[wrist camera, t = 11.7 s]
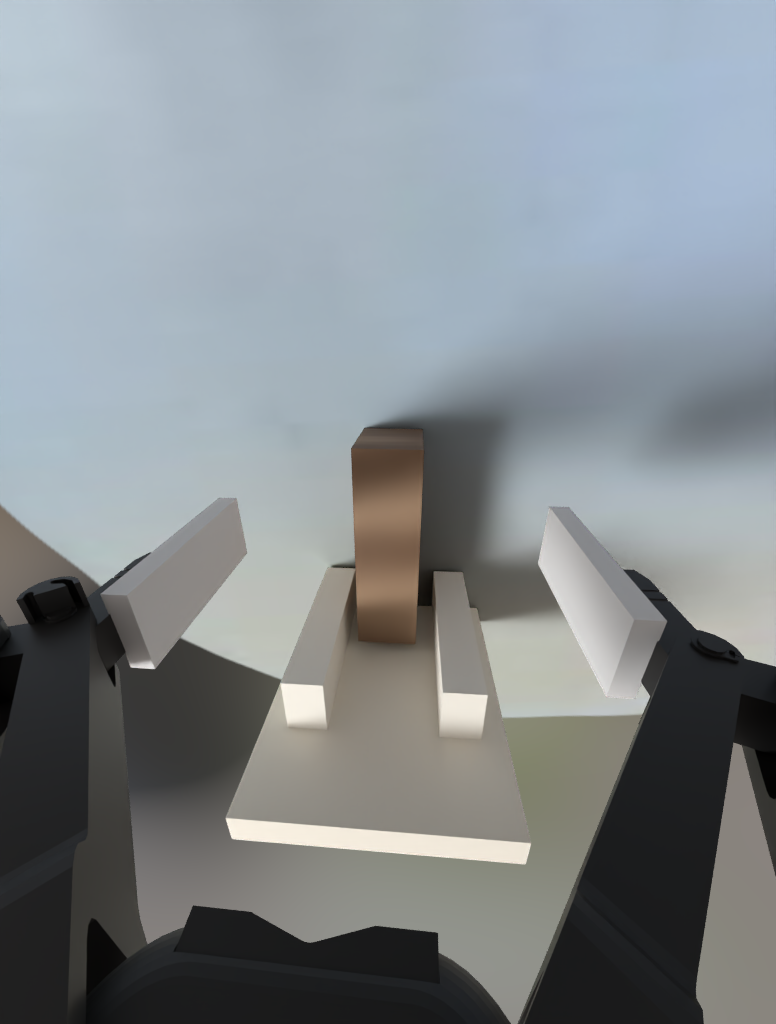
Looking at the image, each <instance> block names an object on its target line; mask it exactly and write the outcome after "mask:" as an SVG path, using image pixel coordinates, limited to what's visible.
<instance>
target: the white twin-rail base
mask: <svg viewBox="0 0 776 1024" xmlns="http://www.w3.org/2000/svg"><path fill="white" fill-rule="evenodd" d="M226 821H227V824H228V827H229V831H230V834H231V837H232V839H238V840H250V841H262V842H273V843H285V844H297V845H308V846H319V847H331V848H342V849H354V850H366V851H378V852H389V853H401V854H412V855H423V856H435V857H447V858H458V859H470V860H481V861H493V862H505V863H516V864H526V860H527V857H528V853H529V850H530V846H531V840H530V836H529V832H528V827H527V823H526V819H525V815H524V810H523V805H522V801H521V797H520V793H519V789H518V784H517V780H516V775H515V771H514V767H513V762H512V758H511V754H510V749H509V745H508V741H507V736H506V732H505V728H504V723H503V719H502V715H501V710H500V706H499V702H498V697H497V693H496V689H495V684H494V680H493V676H492V671H491V667H490V663H489V658H488V654H487V650H486V645H485V641H484V637H483V632H482V628H481V624H480V619H479V615H478V611H477V608H470V606H469V601H468V596H467V591H466V586H465V581H464V577H463V572H440V571H434V574H433V593H432V606H417V622H416V644H400V643H382V642H364V641H358V621H357V594H356V568H327V570H326V573H325V575H324V578H323V580H322V583H321V585H320V587H319V590H318V592H317V595H316V597H315V600H314V602H313V605H312V607H311V610H310V612H309V614H308V617H307V619H306V622H305V624H304V627H303V629H302V632H301V634H300V637H299V639H298V641H297V644H296V646H295V649H294V651H293V654H292V656H291V659H290V661H289V664H288V666H287V668H286V671H285V673H284V676H283V678H282V681H281V683H280V686H279V688H278V691H277V693H276V696H275V698H274V700H273V703H272V705H271V708H270V710H269V713H268V715H267V718H266V720H265V723H264V725H263V727H262V730H261V732H260V735H259V737H258V740H257V742H256V745H255V747H254V750H253V752H252V754H251V757H250V759H249V762H248V764H247V767H246V769H245V772H244V774H243V777H242V779H241V781H240V784H239V786H238V789H237V792H236V794H235V796H234V799H233V801H232V804H231V806H230V808H229V811H228V814H227V816H226Z"/></svg>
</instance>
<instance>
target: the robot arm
mask: <svg viewBox="0 0 776 1024" xmlns="http://www.w3.org/2000/svg"><path fill="white" fill-rule="evenodd" d="M246 554H247V549H246V544H245V539H244V534H243V529H242V524H241V519H240V514H239V509H238V504H237V499H236V498H218V499H217V500H216V501H215V502H214V503H212V504H211V505H210V506H209V507H207V508H206V509H205V510H204V511H202V512H201V513H200V514H199V515H197V516H196V517H195V518H194V519H193V520H191V521H190V522H189V523H188V524H186V525H185V526H184V527H183V528H181V529H180V530H179V531H178V532H176V533H175V534H174V535H173V536H172V537H170V538H169V539H168V540H167V541H165V542H164V543H163V544H162V545H160V546H159V547H158V548H157V549H155V550H154V551H153V552H152V553H151V552H150V553H148V554H146V555H144V556H142V557H140V558H138V559H136V560H134V561H133V562H132V563H131V564H129V565H128V566H127V567H125V568H124V570H123V571H120V572H119V573H118V574H117V575H115V577H114V578H111V579H110V580H109V581H108V582H106V583H105V584H104V585H103V586H101V587H100V588H99V589H98V590H96V591H95V592H94V593H92V594H91V595H90V596H89V597H86V595H85V593H84V591H83V588H82V586H81V584H80V582H79V580H78V579H77V578H75V577H59V578H54V579H50V580H47V581H44V582H41V583H38V584H37V585H34V586H33V587H31V588H28V589H27V590H26V591H25V592H23V593H22V594H20V596H19V597H18V598H17V602H18V604H19V606H20V608H21V610H22V611H23V613H24V615H25V617H26V619H27V621H28V624H22V625H15V626H10V627H7V625H6V623H5V622H4V620H3V618H2V617H1V615H0V1024H511V1023H510V1022H509V1020H508V1019H507V1017H506V1016H505V1015H504V1013H503V1012H502V1010H501V1009H500V1007H499V1006H498V1004H497V1003H496V1002H495V1000H494V999H493V998H492V997H491V996H490V994H489V993H488V992H487V991H486V990H485V989H484V987H483V986H482V985H481V984H480V983H479V982H478V981H477V980H476V979H475V978H474V977H473V976H472V975H471V974H470V973H469V972H467V971H466V970H465V969H464V968H462V967H461V966H459V965H458V964H457V963H455V962H454V961H453V960H451V959H449V958H447V957H445V956H444V955H442V954H440V953H438V933H435V932H426V931H416V930H407V929H399V928H390V927H380V926H374V927H370V928H366V929H362V930H359V931H355V932H351V933H347V934H343V935H340V936H336V937H332V938H328V939H325V940H321V941H317V942H313V943H307V942H304V941H301V940H300V939H298V938H296V937H294V936H293V935H291V934H289V933H287V932H285V931H284V930H282V929H280V928H278V927H276V926H275V925H273V924H271V923H269V922H268V921H266V920H264V919H262V918H260V917H259V916H257V915H255V914H253V913H252V912H246V911H237V910H228V909H219V908H210V907H201V906H193V907H192V910H191V912H190V915H189V917H188V920H187V922H186V925H185V927H184V928H181V929H178V930H175V931H173V932H171V933H168V934H166V935H164V936H161V937H160V938H158V939H156V940H154V941H153V942H151V943H149V944H147V942H146V938H145V934H144V931H143V927H142V924H141V921H140V916H139V910H138V901H137V888H136V876H135V863H134V850H133V838H132V826H131V812H130V800H129V788H128V775H127V762H126V750H125V738H124V724H123V711H122V699H121V686H120V673H119V670H118V668H117V665H116V662H117V661H118V660H119V659H120V658H121V657H122V655H123V654H124V653H125V654H126V656H127V659H128V661H129V664H130V666H131V667H133V668H150V669H155V668H156V667H157V666H158V665H159V663H160V662H161V661H162V659H163V658H164V657H165V656H166V654H167V653H168V651H170V649H171V648H172V647H173V646H174V644H175V643H176V642H177V641H178V639H179V638H180V637H181V636H182V634H183V633H184V632H185V631H186V629H187V628H188V627H189V626H190V624H191V623H192V622H193V621H194V619H195V618H196V617H197V615H198V614H199V613H200V612H201V610H202V609H203V608H204V607H205V605H206V604H207V603H208V602H209V600H210V599H211V598H212V597H213V595H214V594H215V593H216V592H217V590H218V589H219V588H220V587H221V585H222V584H223V583H224V582H225V580H226V579H227V578H228V576H229V575H230V574H231V573H232V571H233V570H234V569H235V568H236V566H237V565H238V564H239V563H240V561H241V560H242V559H243V558H244V556H245V555H246ZM538 565H539V567H540V569H541V571H542V573H543V575H544V577H545V579H546V581H547V582H548V584H549V586H550V588H551V590H552V592H553V594H554V596H555V598H556V600H557V602H558V604H559V606H560V608H561V610H562V612H563V614H564V616H565V618H566V619H567V621H568V623H569V625H570V627H571V629H572V631H573V633H574V635H575V637H576V639H577V641H578V643H579V645H580V647H581V649H582V651H583V653H584V655H585V656H586V658H587V660H588V662H589V664H590V666H591V668H592V670H593V672H594V674H595V676H596V678H597V680H598V682H599V684H600V686H601V688H602V690H603V692H604V693H605V695H606V697H610V698H626V699H636V696H637V694H638V692H639V689H640V687H641V684H643V685H644V687H645V689H646V690H647V692H648V693H649V695H650V699H649V701H648V703H647V706H646V708H645V710H644V713H643V715H642V717H641V720H640V722H639V726H638V728H637V731H636V733H635V735H634V738H633V741H632V743H631V745H630V748H629V751H628V753H627V755H626V758H625V761H624V763H623V765H622V768H621V770H620V773H619V775H618V778H617V780H616V783H615V785H614V788H613V790H612V793H611V795H610V797H609V800H608V802H607V805H606V807H605V810H604V813H603V815H602V817H601V820H600V822H599V825H598V827H597V830H596V832H595V835H594V837H593V840H592V842H591V845H590V847H589V850H588V852H587V855H586V857H585V859H584V862H583V865H582V867H581V869H580V872H579V875H578V877H577V879H576V882H575V885H574V887H573V889H572V892H571V894H570V897H569V899H568V902H567V904H566V907H565V909H564V912H563V914H562V917H561V919H560V921H559V924H558V926H557V929H556V932H555V934H554V936H553V939H552V942H551V944H550V946H549V949H548V951H547V954H546V956H545V959H544V961H543V963H542V966H541V968H540V971H539V973H538V976H537V978H536V980H535V983H534V985H533V987H532V990H531V992H530V995H529V997H528V1000H527V1002H526V1004H525V1007H524V1009H523V1012H522V1014H521V1017H520V1019H519V1021H518V1024H704V1023H703V1010H702V1008H701V1006H700V1004H699V1002H698V1001H697V999H696V982H697V973H698V967H699V961H700V954H701V948H702V941H703V935H704V928H705V922H706V915H707V908H708V902H709V896H710V890H711V883H712V877H713V870H714V864H715V857H716V851H717V845H718V838H719V832H720V825H721V819H722V812H723V806H724V799H725V793H726V787H727V780H728V774H729V767H730V761H731V754H732V748H733V742H734V743H737V744H740V745H742V747H743V751H744V755H745V759H746V763H747V767H748V770H749V775H750V778H751V782H752V786H753V790H754V794H755V798H756V802H757V805H758V809H759V813H760V817H761V821H762V824H763V829H764V833H765V836H766V840H767V844H768V848H769V851H770V856H771V859H772V864H773V867H774V871H775V875H776V667H775V666H771V665H767V664H763V663H759V662H755V661H751V660H747V659H744V656H743V655H742V654H741V653H740V652H739V650H738V649H737V648H736V647H734V646H733V645H731V644H730V643H729V642H727V641H726V640H724V639H722V638H720V637H718V636H716V635H713V634H710V633H707V632H704V631H700V630H696V629H695V628H694V627H693V626H692V625H691V624H690V623H689V622H688V621H687V619H686V618H685V617H684V616H683V615H682V614H681V613H680V612H679V611H678V610H677V609H676V608H675V607H674V606H673V605H672V603H671V602H670V601H667V600H668V599H667V598H666V597H665V596H664V595H663V594H662V593H661V592H659V590H658V588H657V587H656V586H655V585H654V584H653V583H652V582H651V581H650V580H649V579H647V578H646V577H644V576H643V575H641V574H639V573H638V572H636V571H635V570H623V569H622V568H621V567H620V566H619V565H618V563H617V562H616V561H615V560H614V559H613V558H612V557H611V555H610V554H609V553H608V552H607V551H606V550H605V548H604V547H603V546H602V545H601V544H600V543H599V541H598V540H597V539H596V538H595V537H594V536H593V534H592V533H591V532H590V531H589V530H588V529H587V528H586V526H585V525H584V524H583V523H582V522H581V521H580V519H579V518H578V517H577V516H576V515H575V514H574V512H573V511H572V510H571V509H570V508H569V507H549V511H548V516H547V521H546V526H545V531H544V536H543V541H542V546H541V551H540V556H539V561H538Z"/></svg>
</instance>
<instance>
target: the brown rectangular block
mask: <svg viewBox="0 0 776 1024" xmlns="http://www.w3.org/2000/svg"><path fill="white" fill-rule="evenodd" d="M351 458H352V485H353V512H354V539H355V566H356V594H357V621H358V641H364V642H382V643H400V644H416V622H417V599H418V577H419V554H420V531H421V509H422V486H423V463H424V442H423V429H390V428H364V430H363V431H362V433H361V434H360V436H359V437H358V439H357V440H356V442H355V443H354V445H353V446H352V448H351Z"/></svg>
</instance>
